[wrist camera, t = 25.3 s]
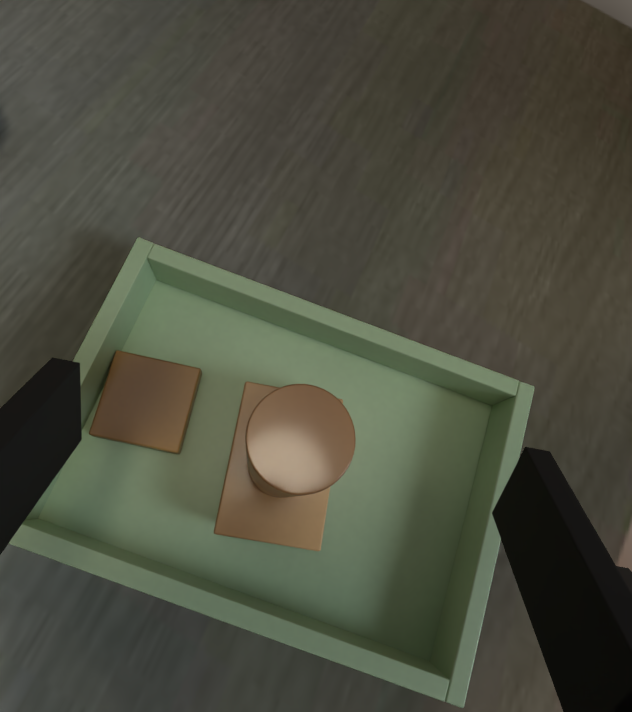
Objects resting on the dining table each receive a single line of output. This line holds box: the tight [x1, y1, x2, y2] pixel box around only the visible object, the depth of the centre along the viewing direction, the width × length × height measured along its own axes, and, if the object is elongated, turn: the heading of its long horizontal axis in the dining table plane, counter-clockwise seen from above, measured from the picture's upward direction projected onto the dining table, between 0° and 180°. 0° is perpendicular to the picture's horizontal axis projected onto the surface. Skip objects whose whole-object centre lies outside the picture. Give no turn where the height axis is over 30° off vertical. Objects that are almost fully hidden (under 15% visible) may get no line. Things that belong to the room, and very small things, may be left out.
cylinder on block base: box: [214, 381, 356, 551], centre depth 18 cm, size 4×6×11 cm
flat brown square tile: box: [89, 350, 202, 454], centre depth 23 cm, size 4×4×1 cm
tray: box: [9, 237, 534, 708], centre depth 23 cm, size 20×14×3 cm
